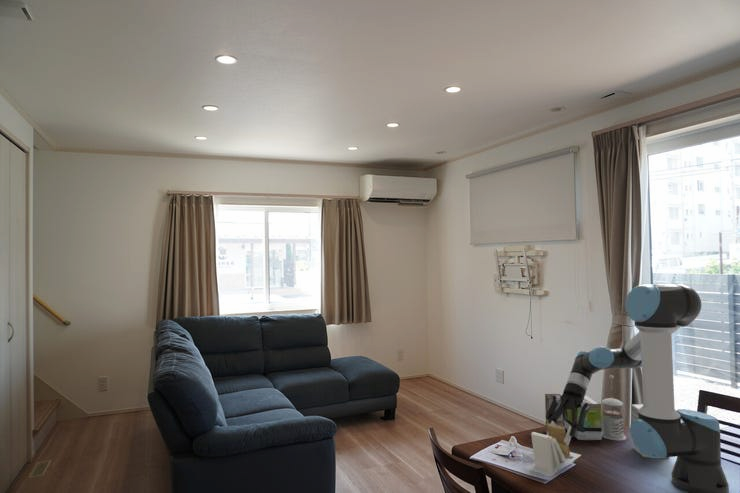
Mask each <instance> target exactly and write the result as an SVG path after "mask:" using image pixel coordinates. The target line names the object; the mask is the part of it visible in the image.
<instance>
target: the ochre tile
mask: <svg viewBox="0 0 740 493" xmlns="http://www.w3.org/2000/svg"><path fill="white" fill-rule="evenodd" d="M547 430H548V434H549V436H551V437H552V438H555V439H556V440H557V442H558V444H559V446H560V448H561V450H562V452H563V454H564V456H565V457H567V458H569V456H570V452H571V451H570V447H569V445H568V446H567V445H566V444H565V442H564V439H565V437H566V434H567V432H566V428H564V427H561V426H557V425H553V424H549V423H548V425H547Z"/></svg>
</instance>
